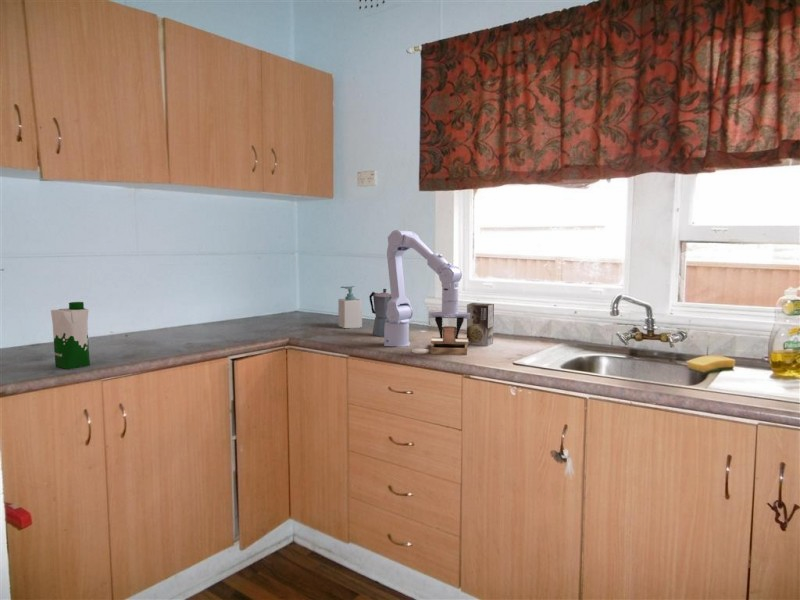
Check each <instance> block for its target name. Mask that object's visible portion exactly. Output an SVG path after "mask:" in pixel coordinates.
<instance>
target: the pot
mask: <svg viewBox="0 0 800 600" xmlns="http://www.w3.org/2000/svg"><path fill="white" fill-rule="evenodd" d="M456 328H457V326H453V325H451V326H450V325H448V326H447V325H446V326H442V334H443V336H442V337H443V343H448V344H451V343H456Z"/></svg>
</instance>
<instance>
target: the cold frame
mask: <svg viewBox="0 0 800 600" xmlns="http://www.w3.org/2000/svg"><path fill="white" fill-rule="evenodd" d="M430 344H431V345H430V348H429V353H430V354H431V355H457V356H459V355H460V356H461V355H462V356H467V355H468V344H436V343H430Z"/></svg>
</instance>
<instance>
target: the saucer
mask: <svg viewBox="0 0 800 600" xmlns="http://www.w3.org/2000/svg"><path fill="white" fill-rule="evenodd" d="M411 352H412V353H414V354H428V353H430V349H428V348H413V349H411Z"/></svg>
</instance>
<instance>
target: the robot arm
mask: <svg viewBox="0 0 800 600" xmlns="http://www.w3.org/2000/svg"><path fill="white" fill-rule="evenodd" d="M387 245H388V246H387V250H386V258H387V269H388V277H389V288H390V289H389V290H390V294H391V299H390V300H389V302H388V303H387V311H386V316H387V318H388V320H389V322H385V328H384V337H383V338H384V339H383V343H384V344H383V346H384V347H410V344H412V343H411V341H410V339H409V337H410V335H409V334H410V333H409V332H410V322H411V319H412V317H413V314H414V310H413V307H412V305H411V301H410V299H409V298H407V296H406V288H405V279H404V268H403V258H402V256H403V255H404V253H406V252H407V251H408V250H410V249H413V250H415V251H416V252H417V253H418V254H419V255H420V256H422V257H423V258H424V259H426V260H427V262H426V263H427V266H429V267H428V268H430V269H432V270H433V272H435V274H437V275H438V278H439V281H440V282H441V311H430V312H429V311H428V315H429V316H428V318H429V319H434V321H435V323H436V326H437V328H438V332H439V337H440V338H442V337H443V330H442V327H443V319H456V339H458V338H459V333H460V330H461V327H462V325H463V324H464V322H465V321H464V320H467V319H470V313H467V312H459V311H458V308H459V307H458V306H459V282H460V281H461V279H462V271H461V269H460V268H459V267H458V266H453V264H452V263H451V262H448V261H447V260H446V259H445V258H444V255H443V254H441V253H437V252H436V253H434V252H433V251H432V250H431V249H430V248H429V247H428V245H426V244H425V243H424V242H423V241H422V239H421V238H420V237H419V235H418V234H417V233H415V232H414V231H413V230H398V229H395V230H393V231H391V233H389V235H388V236H387Z"/></svg>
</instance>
